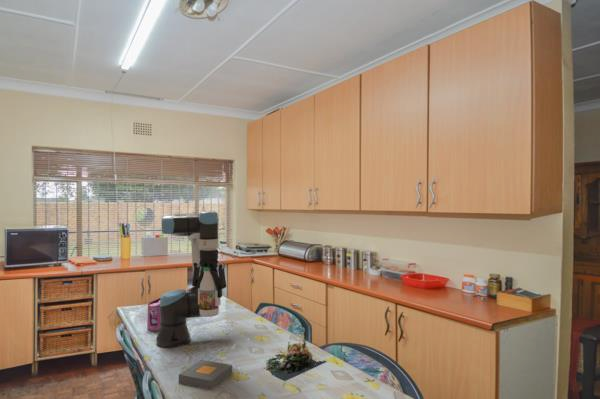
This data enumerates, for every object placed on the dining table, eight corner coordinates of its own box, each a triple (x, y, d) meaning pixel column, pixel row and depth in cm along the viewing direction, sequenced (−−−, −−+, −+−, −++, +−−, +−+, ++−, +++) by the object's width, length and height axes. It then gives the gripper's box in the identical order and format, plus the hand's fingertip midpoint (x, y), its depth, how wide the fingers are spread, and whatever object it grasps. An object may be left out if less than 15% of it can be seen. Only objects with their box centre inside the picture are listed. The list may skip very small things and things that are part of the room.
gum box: (159, 331, 201) (159, 304, 201) (145, 330, 202) (145, 304, 202) (182, 317, 224) (182, 293, 224) (169, 317, 226) (169, 293, 226)
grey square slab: (178, 382, 145) (178, 374, 145) (201, 367, 158) (201, 359, 158) (211, 389, 140) (211, 380, 140) (232, 372, 153) (232, 364, 153)
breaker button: (194, 378, 147) (194, 371, 147) (204, 371, 153) (204, 365, 153) (208, 381, 145) (208, 374, 145) (217, 374, 151) (217, 367, 151)
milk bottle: (201, 312, 169) (200, 264, 168) (219, 311, 169) (219, 264, 169) (198, 317, 161) (197, 268, 161) (217, 317, 162) (217, 267, 161)
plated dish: (296, 342, 187) (296, 327, 186) (345, 360, 167) (345, 342, 167) (236, 367, 161) (236, 349, 161) (286, 391, 142) (286, 370, 142)
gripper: (182, 249, 165) (182, 304, 165) (225, 251, 158) (225, 309, 158) (193, 247, 172) (194, 300, 172) (235, 249, 165) (235, 304, 165)
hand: (209, 304), depth 165 cm, fingers closed on milk bottle, 8 cm apart
